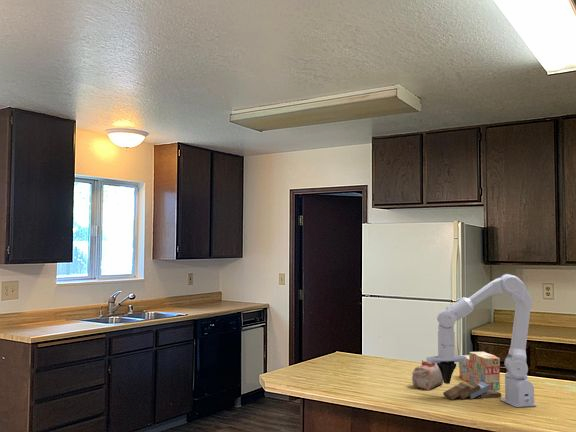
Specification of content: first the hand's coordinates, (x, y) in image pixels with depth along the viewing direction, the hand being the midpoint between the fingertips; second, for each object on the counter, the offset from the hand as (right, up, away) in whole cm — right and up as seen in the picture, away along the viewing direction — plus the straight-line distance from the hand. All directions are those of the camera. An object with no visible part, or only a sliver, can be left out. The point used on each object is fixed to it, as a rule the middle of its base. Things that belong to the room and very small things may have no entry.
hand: (446, 383), depth 203 cm
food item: (-2, -7, +17) cm, 18 cm away
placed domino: (+8, -5, +2) cm, 10 cm away
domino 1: (0, -5, 0) cm, 5 cm away
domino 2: (+4, -5, +1) cm, 6 cm away
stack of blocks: (+19, -7, +22) cm, 30 cm away
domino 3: (+12, -5, +2) cm, 13 cm away
